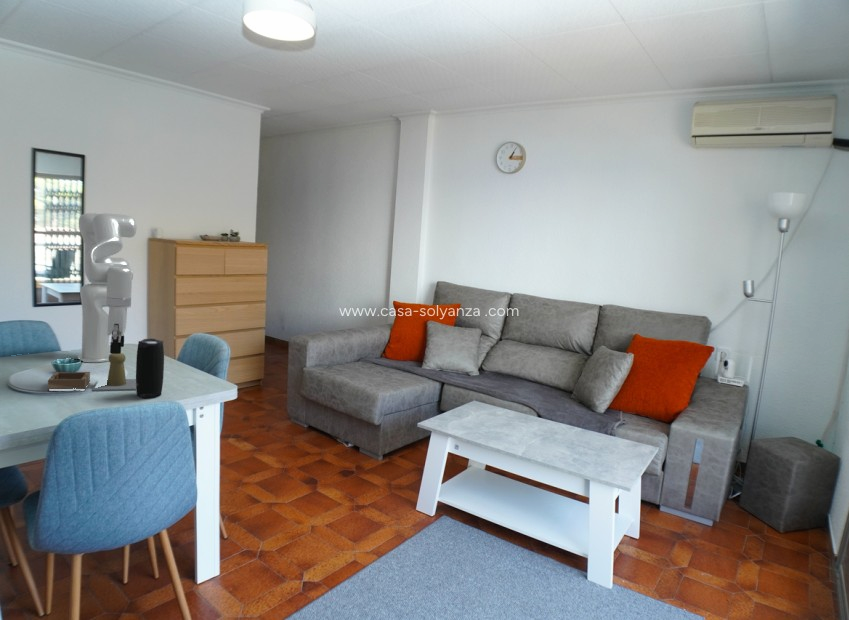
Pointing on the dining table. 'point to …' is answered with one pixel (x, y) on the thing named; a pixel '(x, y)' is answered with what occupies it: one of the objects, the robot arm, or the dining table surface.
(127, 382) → the charcoal mat
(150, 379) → the portable speaker
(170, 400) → the dining table surface
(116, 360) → the olive bottle
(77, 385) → the walnut holder
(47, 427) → the dining table surface
